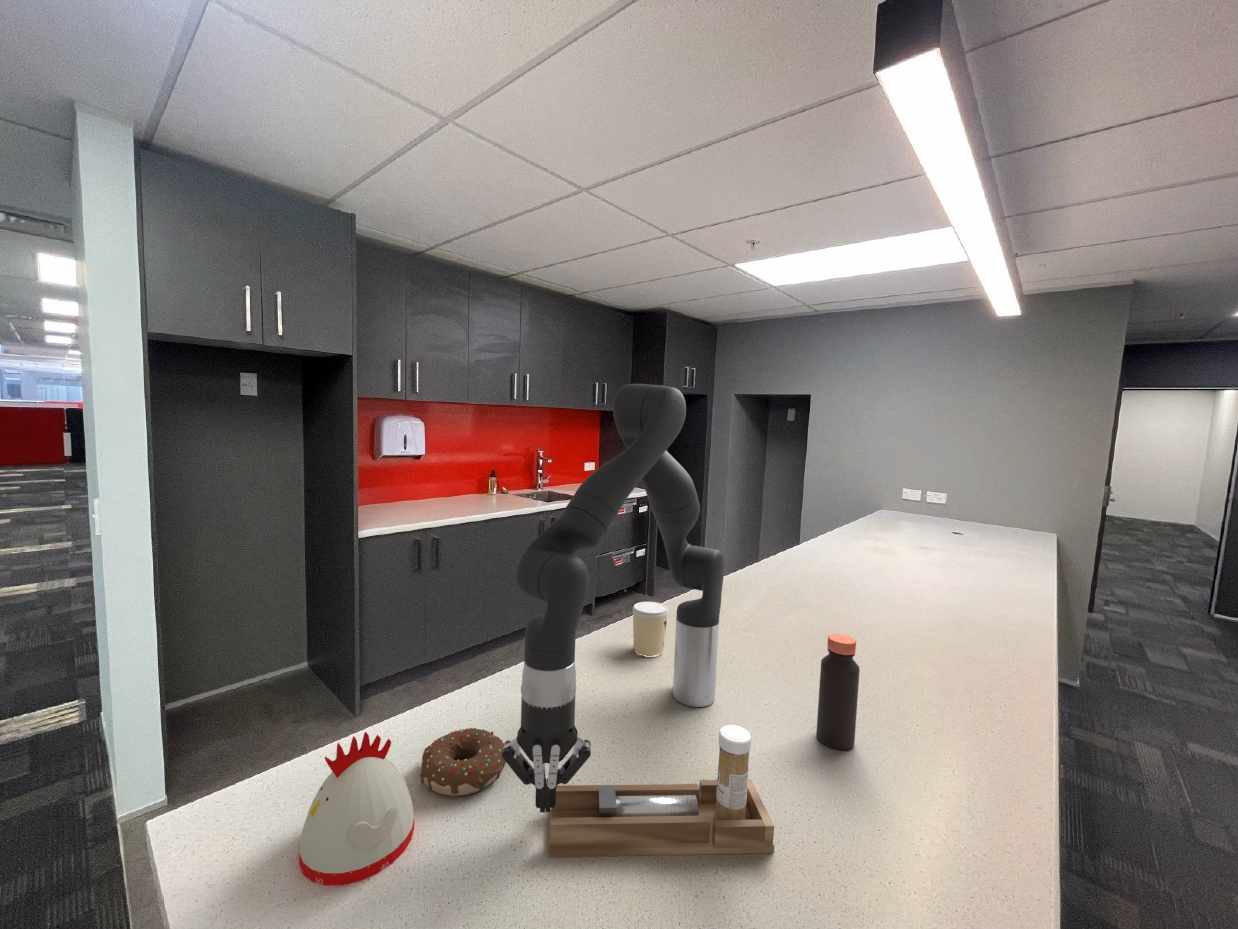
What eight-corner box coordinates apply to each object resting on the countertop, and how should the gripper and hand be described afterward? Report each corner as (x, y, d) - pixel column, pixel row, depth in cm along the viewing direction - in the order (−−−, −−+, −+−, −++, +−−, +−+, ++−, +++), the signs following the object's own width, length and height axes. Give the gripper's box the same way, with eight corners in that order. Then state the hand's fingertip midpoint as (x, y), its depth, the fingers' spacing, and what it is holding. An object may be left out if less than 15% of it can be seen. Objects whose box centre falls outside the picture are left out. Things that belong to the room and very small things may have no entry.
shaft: (597, 811, 75) (598, 785, 74) (691, 810, 76) (693, 784, 75) (598, 835, 70) (599, 808, 70) (698, 833, 71) (700, 806, 71)
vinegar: (808, 733, 99) (814, 633, 98) (835, 727, 101) (842, 630, 100) (834, 754, 92) (841, 648, 91) (862, 747, 95) (870, 643, 94)
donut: (416, 812, 75) (416, 779, 74) (423, 755, 88) (423, 727, 87) (513, 795, 79) (514, 764, 79) (506, 743, 92) (507, 717, 92)
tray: (552, 806, 77) (553, 781, 76) (751, 804, 79) (753, 779, 79) (548, 858, 67) (549, 830, 67) (774, 853, 70) (776, 826, 69)
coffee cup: (672, 656, 131) (674, 611, 130) (639, 661, 127) (641, 614, 127) (656, 642, 139) (658, 599, 139) (625, 646, 136) (627, 602, 135)
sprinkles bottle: (710, 810, 76) (715, 723, 75) (739, 808, 76) (744, 723, 76) (719, 834, 71) (724, 742, 71) (750, 832, 72) (756, 741, 71)
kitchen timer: (288, 837, 69) (288, 731, 68) (391, 790, 79) (393, 697, 78) (316, 908, 59) (317, 785, 58) (430, 844, 69) (432, 738, 68)
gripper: (595, 677, 75) (591, 789, 76) (505, 677, 74) (502, 790, 75) (596, 705, 67) (592, 828, 69) (496, 705, 66) (493, 830, 68)
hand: (545, 808), depth 72 cm, fingers closed
